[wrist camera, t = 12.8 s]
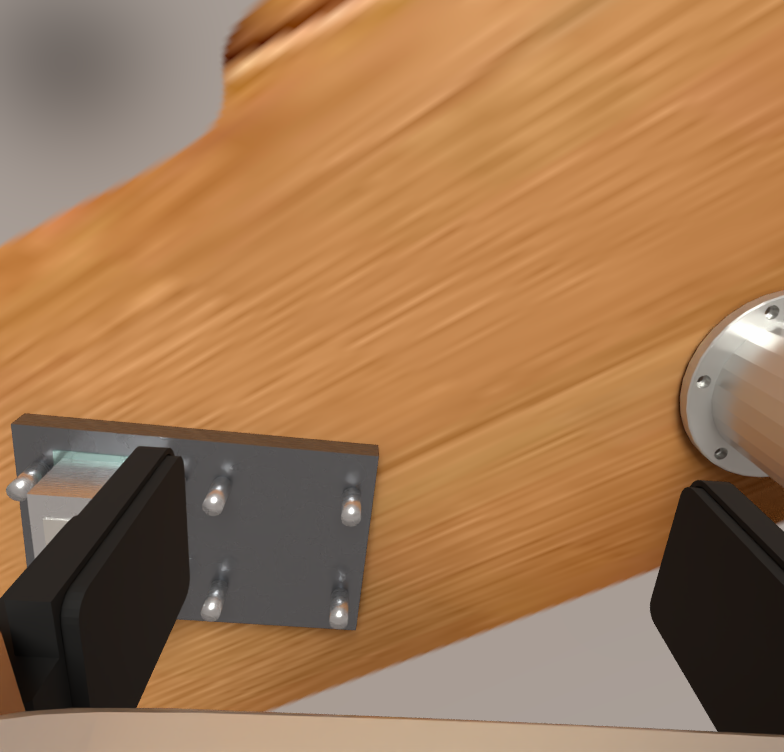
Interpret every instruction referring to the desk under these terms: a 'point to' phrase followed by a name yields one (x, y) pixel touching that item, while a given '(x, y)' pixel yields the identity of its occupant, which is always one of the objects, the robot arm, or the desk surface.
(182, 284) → the desk surface
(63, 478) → the block
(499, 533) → the desk surface
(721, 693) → the robot arm
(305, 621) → the tray
